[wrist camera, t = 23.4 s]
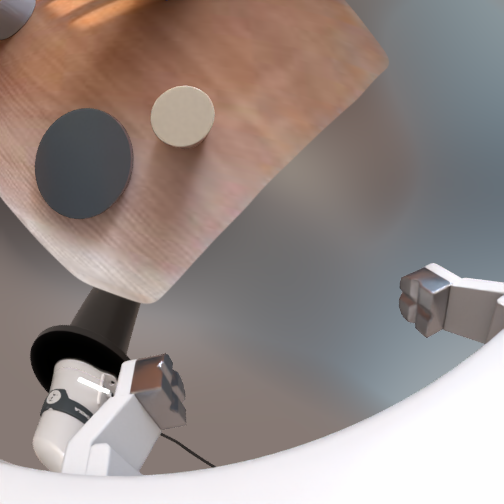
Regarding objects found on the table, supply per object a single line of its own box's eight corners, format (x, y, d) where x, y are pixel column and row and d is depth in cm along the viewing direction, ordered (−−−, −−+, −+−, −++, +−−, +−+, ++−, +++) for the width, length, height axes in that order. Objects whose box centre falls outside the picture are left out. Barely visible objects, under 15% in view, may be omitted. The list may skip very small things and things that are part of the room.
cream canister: (213, 142, 38) (221, 137, 27) (169, 154, 37) (158, 154, 26) (203, 100, 36) (206, 79, 24) (159, 112, 35) (144, 96, 24)
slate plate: (146, 196, 39) (144, 198, 37) (57, 229, 37) (52, 232, 35) (120, 93, 33) (117, 91, 31) (31, 135, 31) (26, 135, 29)
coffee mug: (6, 46, 23) (-24, 33, 14) (-12, 30, 20) (-40, 18, 10) (58, -12, 22) (37, -36, 12) (35, -24, 18) (14, -45, 9)
